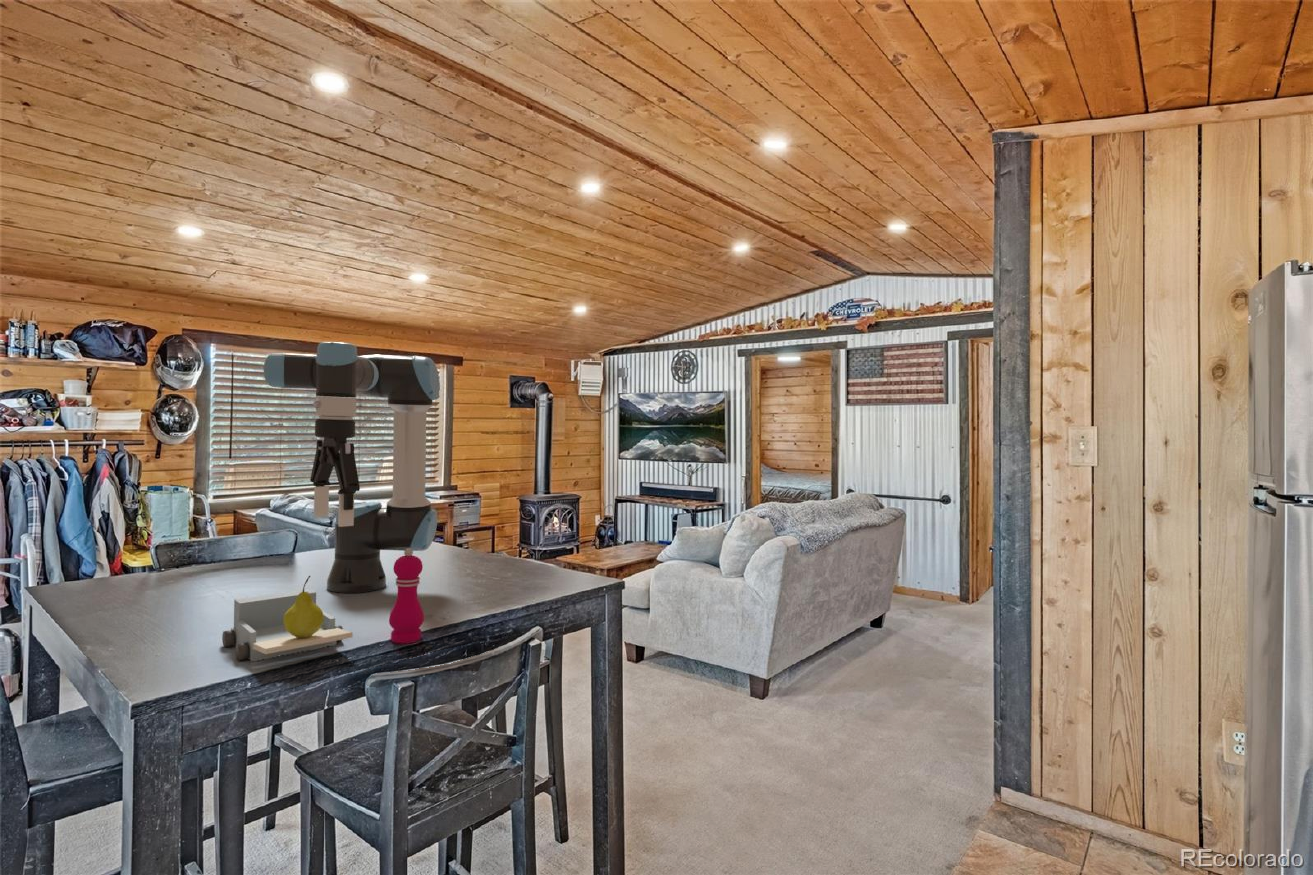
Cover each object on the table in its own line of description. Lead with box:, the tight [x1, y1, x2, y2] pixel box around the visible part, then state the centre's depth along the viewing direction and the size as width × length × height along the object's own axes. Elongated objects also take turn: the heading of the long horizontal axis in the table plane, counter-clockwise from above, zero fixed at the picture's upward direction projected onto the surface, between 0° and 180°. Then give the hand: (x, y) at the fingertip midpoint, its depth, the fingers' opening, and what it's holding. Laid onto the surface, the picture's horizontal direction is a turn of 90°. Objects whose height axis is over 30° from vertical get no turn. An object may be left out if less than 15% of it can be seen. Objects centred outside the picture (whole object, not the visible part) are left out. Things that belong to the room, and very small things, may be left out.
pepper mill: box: [388, 548, 425, 644], centre depth 153 cm, size 7×7×20 cm
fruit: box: [283, 575, 323, 638], centre depth 139 cm, size 7×7×12 cm
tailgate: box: [253, 628, 354, 654], centre depth 139 cm, size 1×16×8 cm
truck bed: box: [221, 588, 344, 663], centre depth 147 cm, size 15×20×9 cm
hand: (333, 521), depth 144 cm, fingers open, 13 cm apart
